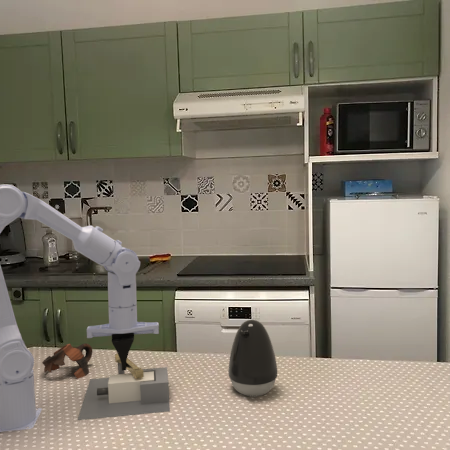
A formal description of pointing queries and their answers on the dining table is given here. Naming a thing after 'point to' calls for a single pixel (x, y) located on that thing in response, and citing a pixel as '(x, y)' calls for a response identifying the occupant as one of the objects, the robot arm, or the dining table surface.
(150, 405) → the socket
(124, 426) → the dining table surface
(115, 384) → the plug
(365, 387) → the dining table surface
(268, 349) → the pump dispenser
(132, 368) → the brass ball-knob lever
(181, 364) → the dining table surface
